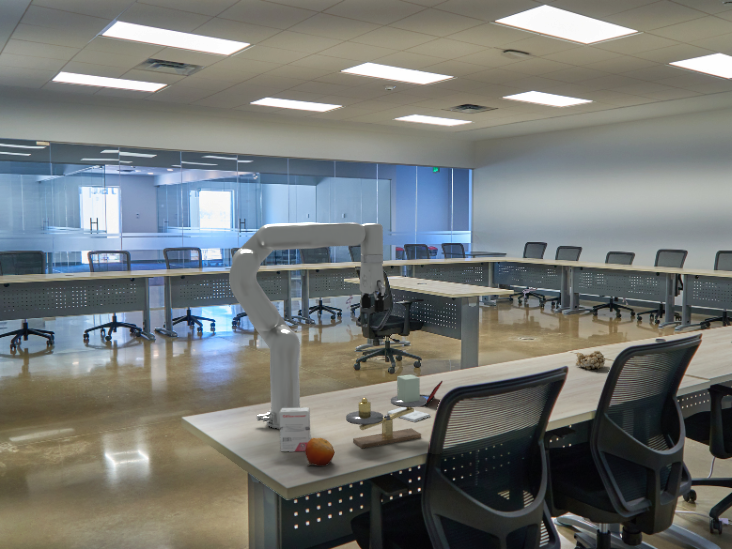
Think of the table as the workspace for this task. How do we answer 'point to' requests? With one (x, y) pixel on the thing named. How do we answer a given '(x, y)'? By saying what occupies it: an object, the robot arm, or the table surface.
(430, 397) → the handheld game console
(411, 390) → the sage block
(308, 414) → the ink box
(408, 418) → the external hard drive
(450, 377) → the table surface
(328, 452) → the fruit
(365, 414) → the balance
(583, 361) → the mineral formation
